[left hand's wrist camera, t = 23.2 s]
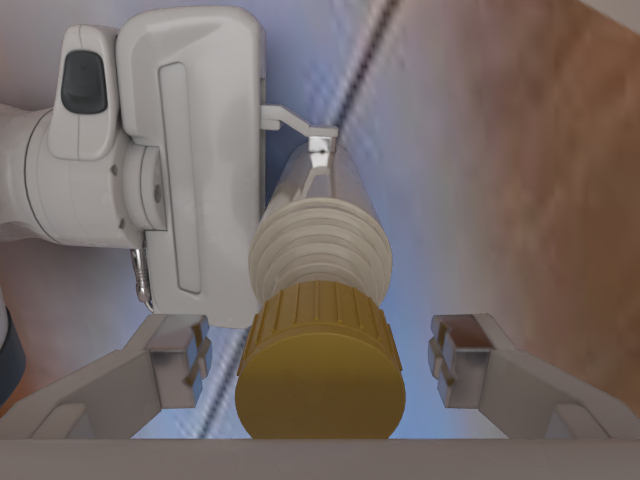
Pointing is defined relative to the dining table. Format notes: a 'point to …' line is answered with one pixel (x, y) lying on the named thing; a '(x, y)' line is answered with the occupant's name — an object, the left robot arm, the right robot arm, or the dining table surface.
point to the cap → (320, 367)
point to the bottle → (320, 229)
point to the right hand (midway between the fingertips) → (333, 192)
